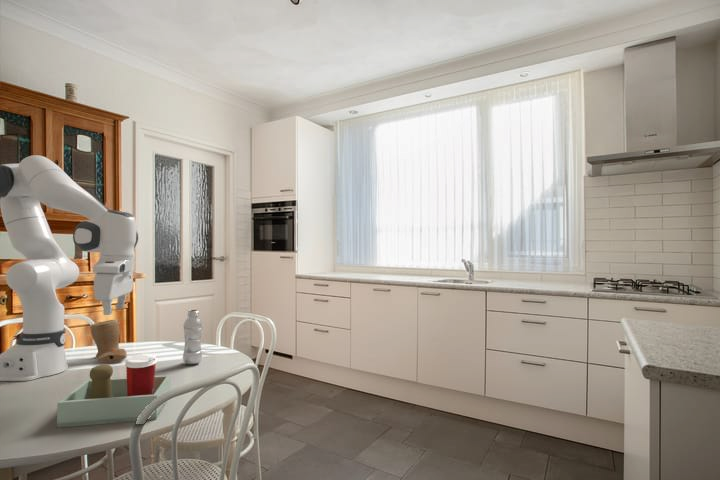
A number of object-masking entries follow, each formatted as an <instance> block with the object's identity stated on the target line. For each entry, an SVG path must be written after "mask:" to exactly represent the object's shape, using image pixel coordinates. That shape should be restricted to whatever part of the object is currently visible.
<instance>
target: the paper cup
mask: <svg viewBox="0 0 720 480" xmlns="http://www.w3.org/2000/svg"><path fill="white" fill-rule="evenodd" d="M157 363H158V359H157V357H156V355H155V354H153V353H140V354H139V353H138V354H135V355H132V356H129V357H127V360H126V361H125V364H124V366H125V367H126V378H127V396H139V395H153V389H154V378H155V376H156V366H157Z"/></svg>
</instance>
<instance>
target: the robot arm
mask: <svg viewBox="0 0 720 480" xmlns="http://www.w3.org/2000/svg"><path fill="white" fill-rule="evenodd" d="M41 203H42V204H43V205H44V206H47V207H48V208H51V209H56V210H60V211H65V212H68V213H69V212H70V213H74V214H78V215H81V216H83V217H85V218H87V219H88V220H84V221H83V220H82V221H81V222H79V223H78V224H77V225H76V226H75V228H74V230H73V233H72V239H73V242H74V245H75V246H76V248H77V250H78V249H79V250H80V251H82V252H86V253H100V254H99V259H98V261H97V262H96V263H95V264H94V265H93V266H92V272H93V274H94V277H93V295H94V296H93V297H94V299H95V301H98V302H99V301H101V305H102V308H103V312H102V313H103V315H104V316H110V315H112V314H113V309H114V308H113V307H112V303H113V300H114V299H117V301H116V302H117V303H115V305H116V306H115V309H116V310H122V309H123V310H124V308H125V302H126V300H127V295H128V294H130V293H132V292H133V289H134V271H135V259H136V252H135V248H136V247H137V244H138V242H139V233H138V230H137V221H136V218H135V216H134V214H131V213H130V212H128V211H127V212H126V211H120V210H116V209H109V208H108V207H107V206H106V205H105V204H104V203H102V202H101V201H100V200H99V199H98V198H96V197H95V196H94V195H92V194H91V193H90V192H88V191H87V190H85V189H84V188H82V187H81V186H80V185H79V184H78V183H77V182H75V181H74V180H73V179H72V178H71V177H70V176H69V175H68V174H67V172H65V171H64V170H63V168H61V167H60V166H59V165H58V164H56V163H55V162H54V161H52V160H51V159H49V158H48V157H46V156H43V155H38V154H37V155H36V154H35V155H30V156H29V155H28V156H26V157H25V158H23V159H22V160H21V161H20V162H19V163H5V164H0V212H1V217H2V220H3V224H4V226H5V229H6V232H7V234H8V237H9V240H10V243H11V246H12V247H13V249H15V250H16V251H17V252H19V253H20V254H21V255H23V256H24V257H25V259H26V260H23V261H20V262H17V263H15V264H13V265H11V266H10V268H9V267H8V270H7V272H6V274H5V281H6V284H7V285H8V287H9V289H11V290H13V291H14V292H15V293H16V295H17V296H18V299H19V302H20V304H21V308H22V331H21V332H20V333H18V334H16V335H15V336H13V339H12V341H16V342H15V344H14V345H12V346H10V347H9V348H8V349H6V350H4V351H3V352H2V353H0V382H17V381H18V382H21V381H22V382H25V381H32V380H36V379H39V378H44V377H48V376H53V375H57V374H60V373H63V372H65V371H67V370H68V369H69V365H68V362H67V358H66V351H65V345H66V339H67V337H66V336H67V335H66V328H65V306H64V304H62V303H61V302H60V300H59V299H58V296H57V293H56V290H57V289H63V288H65V287H68V286H70V285H72V284H74V283H75V282H76V281H77V280H78V278H79V277H80V276H79V275H80V268H79V266H78V265H77V264H76V263H75V262H74V261H73V260H71V259H70V258H69V257H68V256H67V255H66V254H65V252H64V251H63V249H62V248H61V247H60V246H59V245H58V243H57V242H56V240H55V238H54V236H53V233H52V231H51V228H50V225H49V223H48V220H47V218H46V216H45V213H44V211H43V209H42V206H41Z"/></svg>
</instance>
